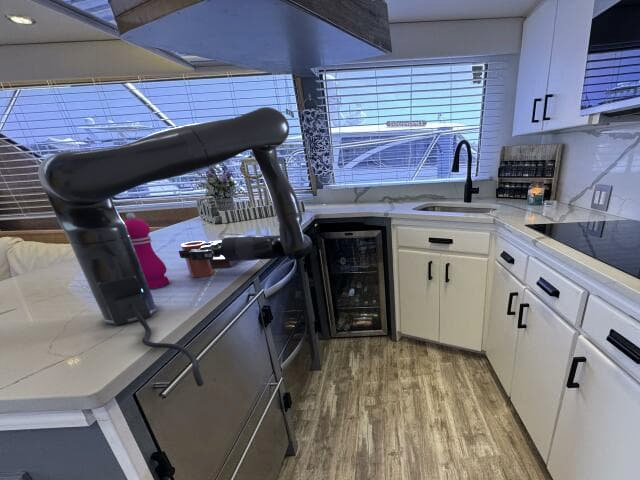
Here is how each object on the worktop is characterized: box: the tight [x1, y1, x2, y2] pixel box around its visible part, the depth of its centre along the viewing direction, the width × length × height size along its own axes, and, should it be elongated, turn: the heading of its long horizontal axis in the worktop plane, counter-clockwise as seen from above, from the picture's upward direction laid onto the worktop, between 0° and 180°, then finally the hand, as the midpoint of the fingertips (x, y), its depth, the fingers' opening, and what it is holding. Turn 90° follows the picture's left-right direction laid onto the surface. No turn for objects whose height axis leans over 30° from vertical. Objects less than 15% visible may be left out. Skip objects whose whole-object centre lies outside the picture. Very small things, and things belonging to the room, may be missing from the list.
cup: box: [180, 240, 214, 278], centre depth 97 cm, size 6×6×10 cm
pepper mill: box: [123, 212, 170, 290], centre depth 87 cm, size 7×7×20 cm
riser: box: [210, 255, 241, 269], centre depth 108 cm, size 11×11×3 cm
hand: (189, 250), depth 96 cm, fingers open, 8 cm apart
